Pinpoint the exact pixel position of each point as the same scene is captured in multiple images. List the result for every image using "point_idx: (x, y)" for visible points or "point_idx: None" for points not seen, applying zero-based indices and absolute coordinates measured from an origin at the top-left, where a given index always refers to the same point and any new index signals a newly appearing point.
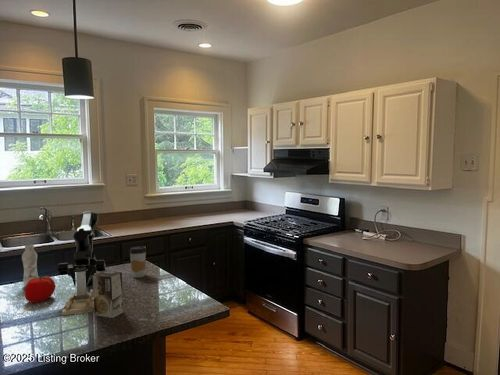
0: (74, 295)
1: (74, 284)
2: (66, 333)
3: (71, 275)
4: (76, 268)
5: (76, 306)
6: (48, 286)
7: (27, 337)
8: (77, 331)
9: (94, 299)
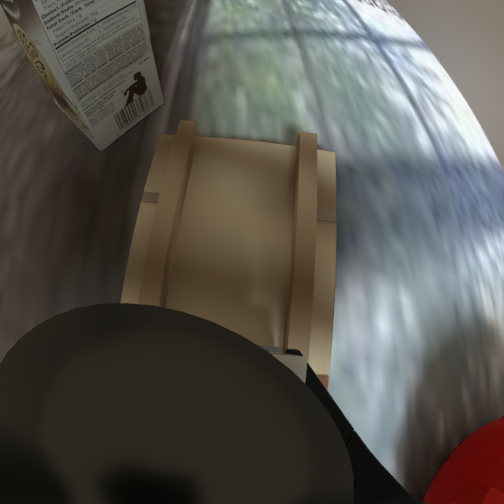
0: None
1: (294, 349)
2: (277, 22)
3: (377, 462)
4: (321, 435)
5: (254, 196)
6: (492, 471)
7: (393, 52)
8: (243, 20)
9: (148, 33)
